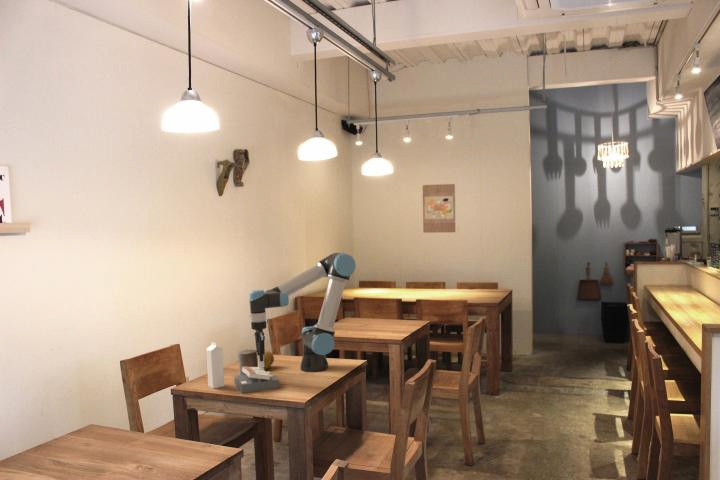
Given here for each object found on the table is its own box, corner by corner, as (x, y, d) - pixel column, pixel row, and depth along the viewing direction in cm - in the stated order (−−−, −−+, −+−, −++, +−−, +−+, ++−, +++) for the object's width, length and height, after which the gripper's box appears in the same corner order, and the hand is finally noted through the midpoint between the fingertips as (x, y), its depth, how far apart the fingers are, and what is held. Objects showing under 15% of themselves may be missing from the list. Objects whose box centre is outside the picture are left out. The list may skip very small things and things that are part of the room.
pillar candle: (261, 375, 315) (260, 347, 315) (251, 380, 306) (249, 351, 306) (246, 374, 319) (245, 346, 319) (235, 379, 311) (233, 350, 310)
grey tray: (269, 379, 307) (269, 369, 307) (279, 387, 290) (278, 377, 290) (234, 384, 301) (234, 374, 301) (241, 393, 283) (241, 382, 283)
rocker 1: (261, 370, 305) (262, 366, 305) (263, 373, 300) (264, 368, 300) (242, 371, 301) (242, 366, 301) (244, 373, 297) (244, 368, 297)
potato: (253, 371, 325) (252, 353, 325) (257, 366, 338) (256, 348, 337) (272, 371, 325) (271, 352, 325) (275, 365, 338) (274, 347, 337)
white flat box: (266, 377, 293) (267, 372, 294) (269, 379, 289) (270, 374, 289) (246, 375, 290) (247, 370, 290) (249, 377, 285) (249, 372, 285)
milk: (213, 388, 294) (210, 344, 293) (208, 386, 299) (205, 342, 298) (224, 386, 297) (222, 342, 297) (219, 384, 302) (217, 340, 302)
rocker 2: (264, 374, 299) (264, 370, 299) (266, 376, 295) (267, 372, 295) (244, 372, 296) (245, 367, 296) (246, 374, 291) (247, 369, 291)
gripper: (248, 320, 306) (251, 365, 307) (253, 323, 294) (256, 371, 295) (263, 318, 309) (265, 363, 310) (268, 321, 297) (271, 369, 298)
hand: (261, 367), depth 302 cm, fingers closed
